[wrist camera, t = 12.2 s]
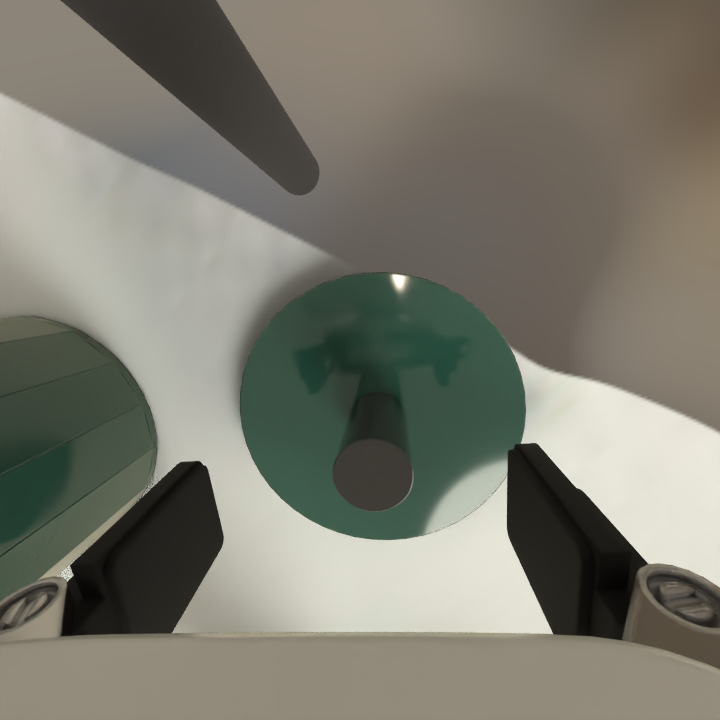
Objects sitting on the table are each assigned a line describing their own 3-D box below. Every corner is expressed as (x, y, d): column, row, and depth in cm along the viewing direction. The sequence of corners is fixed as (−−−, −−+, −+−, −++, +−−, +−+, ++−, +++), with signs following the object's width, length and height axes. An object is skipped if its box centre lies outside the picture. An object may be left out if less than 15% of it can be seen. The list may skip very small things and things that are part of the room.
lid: (226, 287, 18) (138, 292, 12) (518, 257, 16) (598, 245, 10) (270, 528, 21) (220, 632, 15) (516, 522, 20) (575, 635, 13)
